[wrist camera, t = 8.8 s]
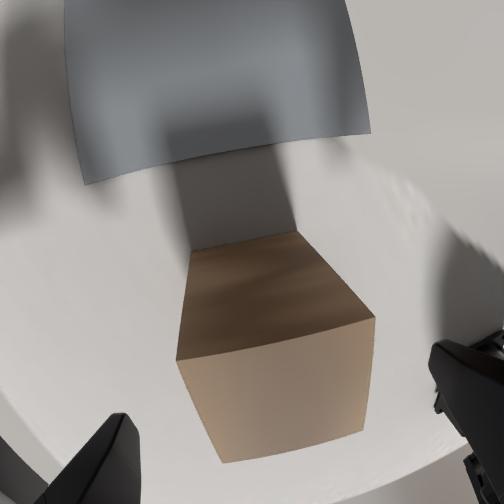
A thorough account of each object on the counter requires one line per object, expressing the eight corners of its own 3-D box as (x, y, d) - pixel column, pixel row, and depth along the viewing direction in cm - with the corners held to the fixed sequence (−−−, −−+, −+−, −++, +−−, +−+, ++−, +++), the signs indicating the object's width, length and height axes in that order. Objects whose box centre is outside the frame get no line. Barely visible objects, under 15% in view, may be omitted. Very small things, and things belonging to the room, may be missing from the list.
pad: (324, -54, 8) (326, -56, 8) (368, 133, 12) (371, 133, 12) (66, -14, 8) (65, -16, 7) (86, 184, 11) (84, 185, 11)
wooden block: (297, 230, 13) (375, 316, 6) (306, 319, 15) (363, 430, 8) (191, 251, 13) (175, 361, 6) (214, 338, 14) (222, 463, 8)
